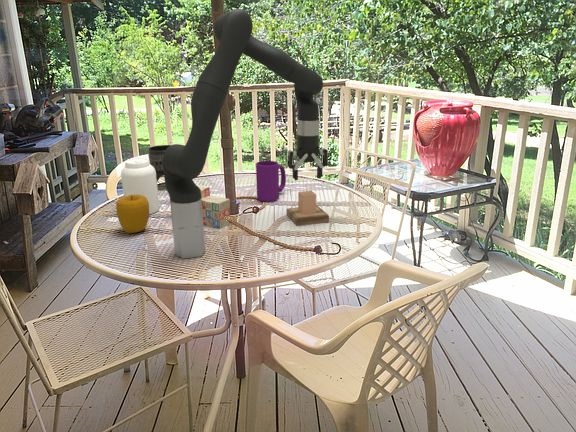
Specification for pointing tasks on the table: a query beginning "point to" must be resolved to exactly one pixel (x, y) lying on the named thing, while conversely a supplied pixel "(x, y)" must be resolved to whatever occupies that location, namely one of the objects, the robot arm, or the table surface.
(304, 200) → the block
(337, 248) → the table surface
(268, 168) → the mug
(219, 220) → the stack of blocks
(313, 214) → the base
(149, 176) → the white jar
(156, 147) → the planter
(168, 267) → the table surface
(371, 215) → the table surface
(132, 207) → the apple
